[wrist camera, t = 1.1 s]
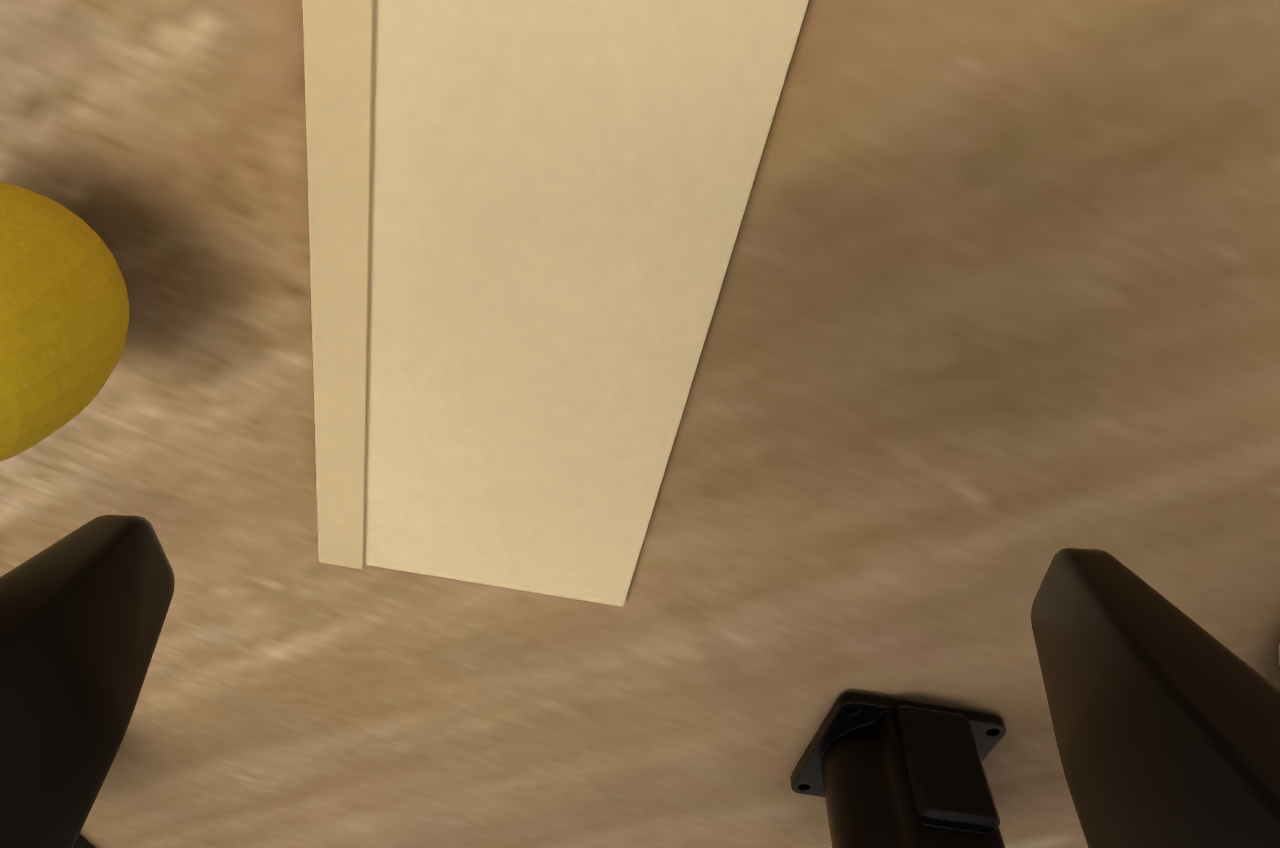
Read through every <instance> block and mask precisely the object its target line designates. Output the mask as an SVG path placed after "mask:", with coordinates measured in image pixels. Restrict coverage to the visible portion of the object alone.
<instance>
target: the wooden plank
mask: <svg viewBox="0 0 1280 848" xmlns="http://www.w3.org/2000/svg"><path fill="white" fill-rule="evenodd" d="M302 1H303V36H304V70H305V105H306V139H307V174H308V208H309V243H310V277H311V312H312V346H313V381H314V415H315V450H316V484H317V518H318V553H319V562H320V563H326V564H333V565H339V566H345V567H351V568H357V569H363V567H364V565H370V566H376V567H382V568H388V569H394V570H400V571H406V572H413V573H419V574H425V575H431V576H437V577H443V578H449V579H455V580H462V581H468V582H474V583H480V584H486V585H492V586H498V587H504V588H511V589H517V590H523V591H529V592H535V593H541V594H547V595H553V596H560V597H566V598H572V599H578V600H584V601H590V602H596V603H602V604H609V605H615V606H621V607H623V606H624V603H625V600H626V596H627V593H628V590H629V587H630V583H631V580H632V577H633V574H634V570H635V567H636V564H637V560H638V557H639V554H640V551H641V547H642V544H643V541H644V538H645V534H646V531H647V528H648V525H649V521H650V518H651V515H652V512H653V508H654V505H655V502H656V498H657V495H658V492H659V489H660V485H661V482H662V479H663V476H664V472H665V469H666V466H667V463H668V459H669V456H670V453H671V449H672V446H673V443H674V440H675V436H676V433H677V430H678V427H679V423H680V420H681V417H682V414H683V410H684V407H685V404H686V401H687V397H688V394H689V391H690V387H691V384H692V381H693V378H694V374H695V371H696V368H697V365H698V361H699V358H700V355H701V352H702V348H703V345H704V342H705V339H706V335H707V332H708V329H709V325H710V322H711V319H712V316H713V312H714V309H715V306H716V303H717V299H718V296H719V293H720V290H721V286H722V283H723V280H724V276H725V273H726V270H727V267H728V263H729V260H730V257H731V254H732V250H733V247H734V244H735V241H736V237H737V234H738V231H739V228H740V224H741V221H742V218H743V214H744V211H745V208H746V205H747V201H748V198H749V195H750V192H751V188H752V185H753V182H754V179H755V175H756V172H757V169H758V166H759V162H760V159H761V156H762V152H763V149H764V146H765V143H766V139H767V136H768V133H769V130H770V126H771V123H772V120H773V117H774V113H775V110H776V107H777V104H778V100H779V97H780V94H781V90H782V87H783V84H784V81H785V77H786V74H787V71H788V68H789V64H790V61H791V58H792V55H793V51H794V48H795V45H796V41H797V38H798V35H799V32H800V28H801V25H802V22H803V19H804V15H805V12H806V9H807V6H808V2H809V0H302Z"/></svg>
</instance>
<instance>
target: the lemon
mask: <svg viewBox="0 0 1280 848" xmlns="http://www.w3.org/2000/svg"><path fill="white" fill-rule="evenodd" d="M129 316H130V310H129V301H128V295H127V288H126V283H125V280H124V278H123V276H122V273H121V271H120V269H119V267H118V264H117V262H116V260H115V258H114V256H113V254H112V253H111V251H110V250H109V249H108V247H107V246H106V245H105V243H104V242H103V240H102V239H101V238H100V236H99V235H98V234H97V233H96V232H95V231H94V230H92V229H91V228H90V227H89V226H88V225H87V224H86V223H85V222H84V221H83V220H82V219H81V218H80V217H78V216H77V215H75V214H74V213H73V212H71V211H70V210H68V209H67V208H65V207H64V206H62V205H61V204H59V203H58V202H55V201H53V200H51V199H49V198H47V197H45V196H43V195H41V194H38V193H36V192H34V191H32V190H29V189H26V188H23V187H19V186H15V185H12V184H8V183H4V182H0V461H3V460H6V459H8V458H11V457H13V456H15V455H17V454H19V453H21V452H23V451H25V450H27V449H29V448H30V447H32V446H34V445H35V444H37V443H39V442H40V441H42V440H43V439H45V438H46V437H47V436H49V435H50V434H52V433H53V432H55V431H56V430H57V429H59V428H60V427H62V426H63V425H64V424H66V423H67V422H69V421H70V420H71V419H72V418H74V417H75V416H76V415H77V414H79V413H80V412H81V411H82V410H83V409H84V408H85V407H86V406H87V405H88V404H89V403H90V402H91V401H92V400H93V399H94V397H95V396H96V395H97V394H98V393H99V391H100V390H101V388H102V387H103V385H104V384H105V382H106V380H107V379H108V377H109V376H110V374H111V372H112V371H113V369H114V367H115V366H116V364H117V362H118V360H119V358H120V356H121V354H122V351H123V348H124V345H125V341H126V335H127V329H128V323H129Z"/></svg>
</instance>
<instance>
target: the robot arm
mask: <svg viewBox="0 0 1280 848" xmlns="http://www.w3.org/2000/svg"><path fill="white" fill-rule="evenodd" d="M173 592H174V574H173V570H172V567H171V565H170V563H169V561H168V559H167V557H166V555H165V552H164V550H163V548H162V546H161V544H160V542H159V540H158V537H157V535H156V533H155V531H154V529H153V527H152V525H151V523H150V522H148V521H147V520H146V519H145V518H143V517H139V516H119V515H105V516H100V517H97V518H95V519H93V520H92V521H90V522H88V523H87V524H85V525H83V526H82V527H80V528H79V529H77V530H75V531H74V532H72V533H71V534H69V535H67V536H66V537H64V538H63V539H61V540H59V541H58V542H56V543H55V544H53V545H51V546H50V547H48V548H47V549H45V550H43V551H42V552H40V553H39V554H37V555H35V556H34V557H32V558H31V559H29V560H27V561H26V562H24V563H23V564H21V565H19V566H18V567H16V568H15V569H13V570H11V571H10V572H8V573H7V574H5V575H3V576H2V577H0V848H73V846H74V844H75V842H76V840H77V838H78V836H79V834H80V831H81V829H82V827H83V825H84V823H85V821H86V818H87V816H88V814H89V812H90V810H91V808H92V806H93V803H94V801H95V799H96V797H97V795H98V793H99V790H100V788H101V786H102V784H103V782H104V780H105V778H106V775H107V773H108V771H109V769H110V767H111V765H112V762H113V760H114V758H115V756H116V754H117V751H118V749H119V747H120V744H121V742H122V740H123V738H124V735H125V733H126V730H127V727H128V725H129V722H130V719H131V717H132V714H133V711H134V709H135V706H136V703H137V700H138V697H139V694H140V691H141V688H142V685H143V682H144V679H145V676H146V673H147V670H148V667H149V664H150V661H151V658H152V655H153V653H154V650H155V647H156V644H157V641H158V638H159V635H160V632H161V629H162V626H163V623H164V620H165V617H166V614H167V611H168V608H169V605H170V602H171V599H172V596H173ZM1031 622H1032V629H1033V633H1034V638H1035V643H1036V647H1037V652H1038V657H1039V661H1040V666H1041V671H1042V676H1043V680H1044V685H1045V690H1046V694H1047V699H1048V704H1049V708H1050V713H1051V718H1052V722H1053V727H1054V732H1055V736H1056V741H1057V746H1058V750H1059V754H1060V758H1061V762H1062V766H1063V770H1064V773H1065V777H1066V780H1067V783H1068V787H1069V790H1070V793H1071V796H1072V799H1073V802H1074V805H1075V808H1076V811H1077V814H1078V817H1079V820H1080V823H1081V826H1082V829H1083V832H1084V835H1085V838H1086V841H1087V844H1088V847H1089V848H1280V690H1278V689H1277V688H1276V687H1275V686H1273V685H1272V684H1271V683H1270V682H1269V681H1267V680H1266V679H1265V678H1264V677H1262V676H1261V675H1260V674H1259V673H1257V672H1256V671H1255V670H1254V669H1252V668H1251V667H1250V666H1249V665H1247V664H1246V663H1245V662H1244V661H1242V660H1241V659H1240V658H1239V657H1237V656H1236V655H1235V654H1234V653H1233V652H1231V651H1230V650H1229V649H1228V648H1226V647H1225V646H1224V645H1223V644H1221V643H1220V642H1219V641H1218V640H1216V639H1215V638H1214V637H1213V636H1211V635H1210V634H1209V633H1208V632H1206V631H1205V630H1204V629H1203V628H1201V627H1200V626H1199V625H1198V624H1196V623H1195V622H1194V621H1193V620H1192V619H1190V618H1189V617H1188V616H1187V615H1185V614H1184V613H1183V612H1182V611H1180V610H1179V609H1178V608H1177V607H1175V606H1174V605H1173V604H1172V603H1170V602H1169V601H1168V600H1167V599H1165V598H1164V597H1163V596H1162V595H1160V594H1159V593H1158V592H1157V591H1156V590H1154V589H1153V588H1152V587H1151V586H1149V585H1148V584H1147V583H1146V582H1144V581H1143V580H1142V579H1141V578H1139V577H1138V576H1137V575H1136V574H1134V573H1133V572H1132V571H1131V570H1129V569H1128V568H1127V567H1126V566H1124V565H1123V564H1122V563H1121V562H1119V561H1118V560H1117V559H1116V558H1115V557H1113V556H1112V555H1110V554H1109V553H1107V552H1105V551H1102V550H1098V549H1073V548H1066V549H1062V550H1060V551H1059V552H1058V553H1056V554H1055V556H1054V558H1053V559H1052V562H1051V564H1050V566H1049V568H1048V570H1047V573H1046V575H1045V577H1044V579H1043V581H1042V583H1041V586H1040V588H1039V590H1038V592H1037V594H1036V597H1035V599H1034V602H1033V605H1032V611H1031ZM1005 733H1006V727H1005V724H1004V722H1003V719H1002V718H1001V717H999V716H996V715H990V714H984V713H977V712H971V711H965V710H958V709H952V708H946V707H939V706H933V705H927V704H920V703H914V702H907V701H901V700H895V699H888V698H882V697H876V696H869V695H863V694H857V693H849V694H844V695H842V696H840V698H839V699H838V700H837V701H836V703H835V705H834V706H833V708H832V710H831V711H830V713H829V715H828V716H827V718H826V720H825V721H824V723H823V725H822V726H821V728H820V730H819V731H818V733H817V734H816V736H815V738H814V739H813V741H812V743H811V744H810V746H809V748H808V749H807V751H806V753H805V754H804V756H803V758H802V759H801V761H800V763H799V764H798V766H797V767H796V769H795V771H794V772H793V774H792V776H791V787H792V790H793V791H795V792H796V793H800V794H807V795H814V796H821V797H825V799H826V806H827V813H828V820H829V827H830V834H831V841H832V847H833V848H1005V845H1004V842H1003V839H1002V835H1001V832H1000V829H999V825H1000V819H999V815H998V812H997V809H996V806H995V802H994V799H993V796H992V793H991V789H990V786H989V783H988V780H987V776H986V773H985V770H984V767H983V763H982V761H983V760H984V759H985V757H986V756H987V755H988V754H989V753H990V751H991V750H992V749H993V748H994V747H995V746H996V744H997V743H998V742H999V741H1000V740H1001V738H1002V737H1003V736H1004V735H1005Z"/></svg>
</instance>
